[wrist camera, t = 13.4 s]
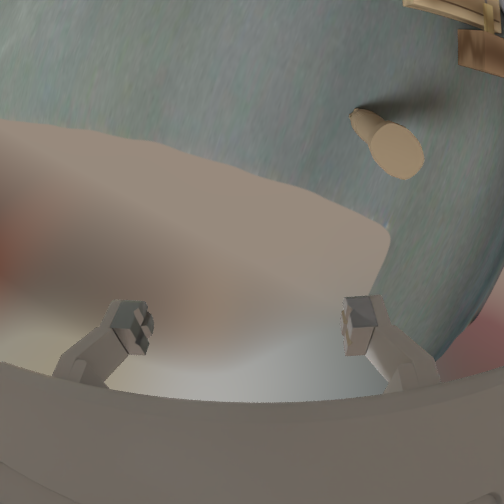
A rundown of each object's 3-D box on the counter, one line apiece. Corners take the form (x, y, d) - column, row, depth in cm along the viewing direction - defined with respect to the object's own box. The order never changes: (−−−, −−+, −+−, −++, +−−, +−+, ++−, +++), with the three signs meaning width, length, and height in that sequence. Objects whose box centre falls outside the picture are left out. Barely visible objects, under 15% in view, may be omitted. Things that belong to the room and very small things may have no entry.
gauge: (455, 1, 24) (481, -2, 18) (479, 10, 23) (506, 10, 18) (458, 64, 30) (484, 70, 25) (481, 71, 30) (508, 79, 24)
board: (399, -29, 23) (409, -34, 20) (486, 0, 21) (499, -1, 19) (403, 6, 26) (413, 3, 24) (488, 32, 25) (501, 33, 22)
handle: (353, 91, 36) (393, 113, 24) (384, 121, 38) (432, 157, 26) (331, 115, 38) (360, 148, 26) (363, 143, 40) (401, 188, 28)
